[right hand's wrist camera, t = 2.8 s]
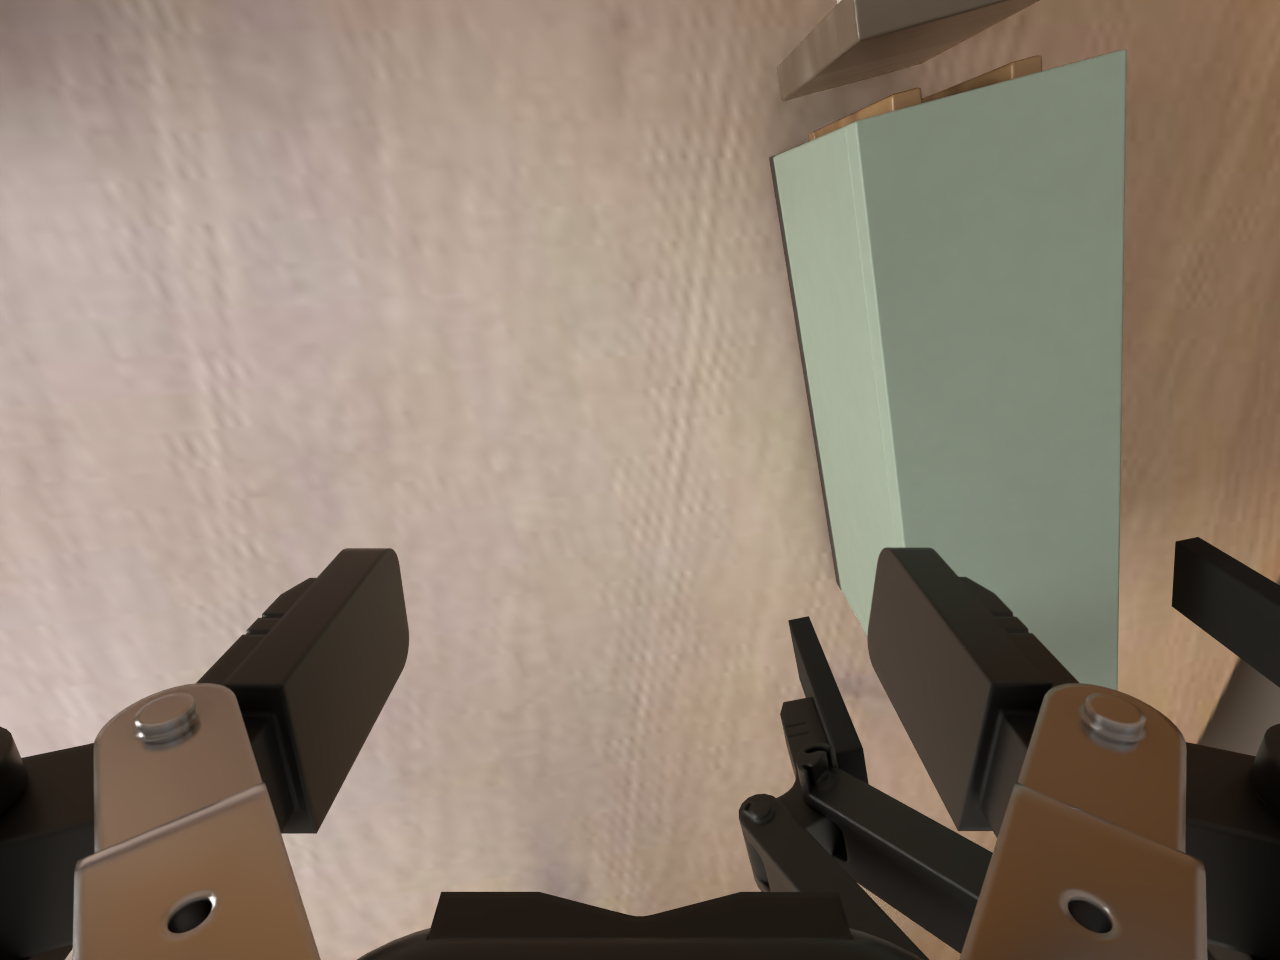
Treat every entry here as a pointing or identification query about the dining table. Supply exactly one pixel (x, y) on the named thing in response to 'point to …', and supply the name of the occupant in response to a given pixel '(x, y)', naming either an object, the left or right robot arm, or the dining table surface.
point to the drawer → (892, 48)
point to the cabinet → (972, 343)
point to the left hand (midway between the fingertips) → (988, 610)
